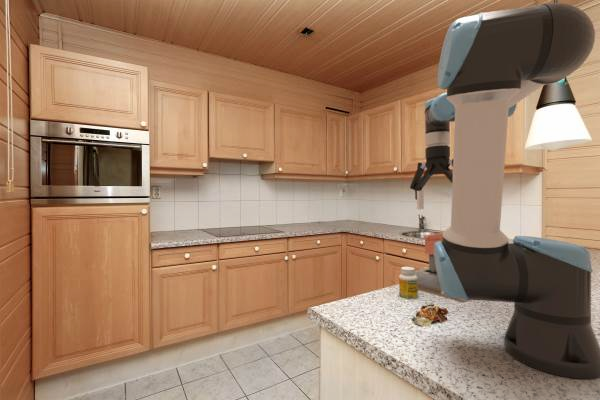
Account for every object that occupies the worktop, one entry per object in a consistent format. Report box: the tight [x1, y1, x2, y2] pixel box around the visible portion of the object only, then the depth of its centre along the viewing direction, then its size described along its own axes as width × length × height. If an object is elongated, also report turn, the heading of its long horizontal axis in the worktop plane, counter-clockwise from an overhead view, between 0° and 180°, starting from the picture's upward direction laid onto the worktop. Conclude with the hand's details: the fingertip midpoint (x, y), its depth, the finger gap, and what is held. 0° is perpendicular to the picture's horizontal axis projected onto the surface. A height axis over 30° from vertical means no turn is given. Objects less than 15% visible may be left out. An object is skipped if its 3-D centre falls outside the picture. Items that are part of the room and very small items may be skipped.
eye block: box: [414, 266, 442, 293], centre depth 103 cm, size 10×10×5 cm
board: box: [418, 287, 470, 303], centre depth 100 cm, size 16×19×1 cm
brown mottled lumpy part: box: [411, 302, 449, 328], centre depth 79 cm, size 7×12×4 cm, turn 136°
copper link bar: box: [423, 231, 444, 274], centre depth 103 cm, size 11×5×18 cm, turn 124°
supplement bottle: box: [398, 266, 419, 300], centre depth 94 cm, size 5×5×10 cm
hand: (438, 209), depth 102 cm, fingers open, 13 cm apart
